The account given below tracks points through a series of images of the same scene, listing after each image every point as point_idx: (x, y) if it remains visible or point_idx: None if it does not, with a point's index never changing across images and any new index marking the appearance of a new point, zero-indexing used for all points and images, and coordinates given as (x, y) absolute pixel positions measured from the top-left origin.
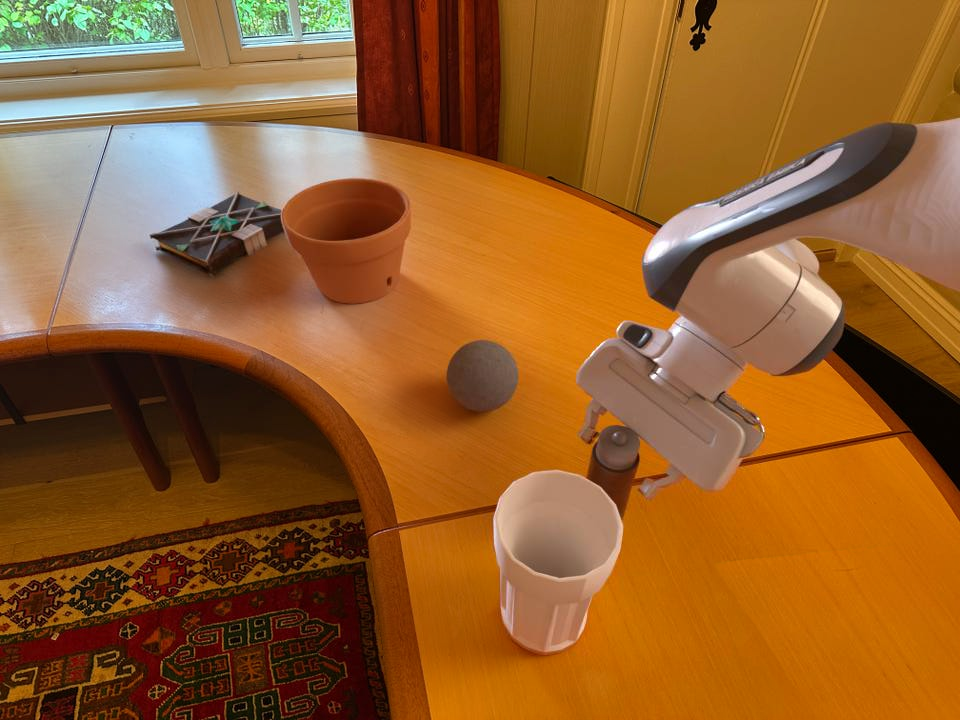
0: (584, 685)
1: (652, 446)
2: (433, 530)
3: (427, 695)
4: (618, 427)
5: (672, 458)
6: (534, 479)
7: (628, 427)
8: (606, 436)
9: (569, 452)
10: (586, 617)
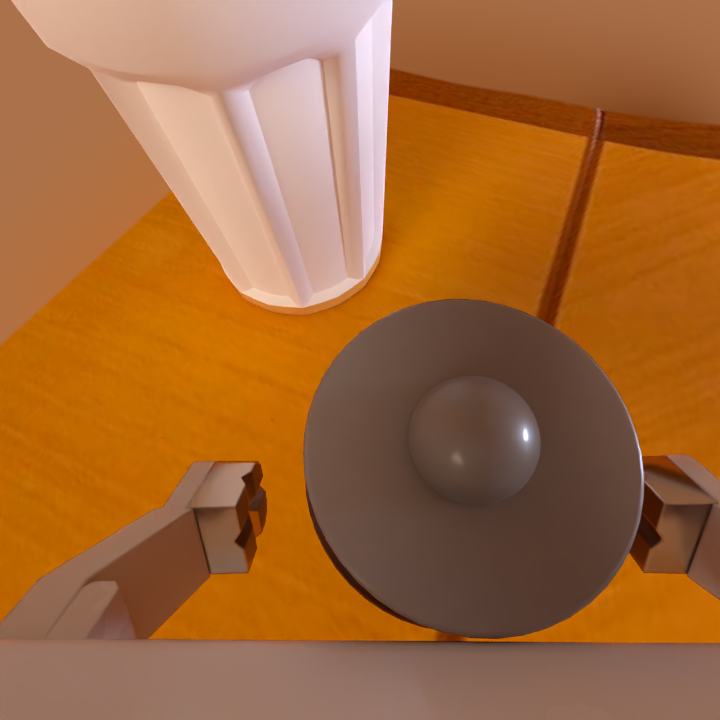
0: (171, 230)
1: (251, 642)
2: (559, 179)
3: None
4: (593, 541)
5: (11, 672)
6: None
7: (557, 643)
8: (550, 386)
9: (642, 579)
10: (232, 282)
